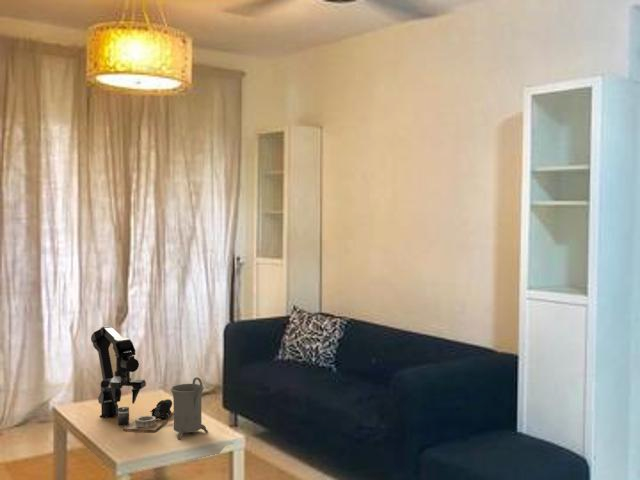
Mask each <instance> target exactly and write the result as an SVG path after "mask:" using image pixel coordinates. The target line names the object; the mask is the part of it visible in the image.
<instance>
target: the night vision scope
mask: <svg viewBox="0 0 640 480" xmlns="http://www.w3.org/2000/svg"><path fill="white" fill-rule="evenodd" d="M155 406H156V407H154V408H152V409H151V411H150V413H151V416H154V417H156V420H167V419H168V418H169V417H170V416H171V415H172V410H171V408H172V407H173V401H172V400H171V399H169V398H167V399H162V400H160V401H159V402H157V403H156V405H155Z"/></svg>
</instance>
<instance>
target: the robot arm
mask: <svg viewBox="0 0 640 480" xmlns="http://www.w3.org/2000/svg"><path fill="white" fill-rule="evenodd" d="M90 340H91V343H92V346H93V348H94V349H95V350H96V351H97V352H98V358H99V365H100V371H101V376H102V377H101V378H102V380H101V382H100V393H99V396H98V397H97V400H98V403H99V405H101V415H99V417H100V418H114V417H116V416H118V408H119V404H118V403H119V402H121V399H122V398H121V397H122V390H121V389H122V388H123V387H131V388H132V389H131V392H132V396H131V397H132V399H131V402H132V405H133V404H135V402H136V400H137V397H138V395H139V393H140V391H141V390H142V389H143V388H145V387H146V386H147V382H146V380H145V379H135V380H134V381H132V377H131V373H134V372H136V371H137V370H138V369H139V367H140V362H139V360H138V359H136V358H135V356H136V349H135V346H134V343H133V342H132V340H131V339H130V338H129V337H127V336H121V334H120V333H119V332H117V331H116V330H115V329H114V327H113V326H111V325H105V326H102V327H100V328H99V329H97V330H95V331H94V332H93V333H92V334H91V336H90ZM111 344H112V349H113V352H114V354H115V355H114V356H115V358H116V359H115V361H116V363H115V365H116V366H115V367H116V369H115V372H114V373H113V367H112V361H111V356H110V347H111Z"/></svg>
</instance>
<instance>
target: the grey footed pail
mask: <svg viewBox="0 0 640 480" xmlns="http://www.w3.org/2000/svg"><path fill="white" fill-rule="evenodd" d="M196 381H198V383H199V384H198V383H196ZM204 389H205V386H204V385H203V382H202V379H201V378H200V377H198V376H195V377H193V379H192V383H182V384H177V385H174V386H171V388H170V391H171V393H172V399H173V401H172V402H173V431H175V432H177V433H178V438H177V439H178V440H179V441H180V440H181V438H182V436H183V434H184V433H187V434H188V433H194V432H198V431H199V430H203V431H204V432H205V433H208V431H209V430H208V429H207V427H206V425H205V424H203V423H202V396H203V391H204Z"/></svg>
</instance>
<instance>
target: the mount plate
mask: <svg viewBox="0 0 640 480" xmlns="http://www.w3.org/2000/svg"><path fill="white" fill-rule="evenodd" d="M167 423H168V420H167V419H166V420H161V419H156V417H154V416H152V415H141V416H138V417H136V418H135V420H133V421H132V422H131V423H129V424H128V425H125V427H123V432H140V433H142V432H143V433H157V431H158V430H159V429H161V428H162V427H164V426H165V425H166V424H167Z"/></svg>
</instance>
